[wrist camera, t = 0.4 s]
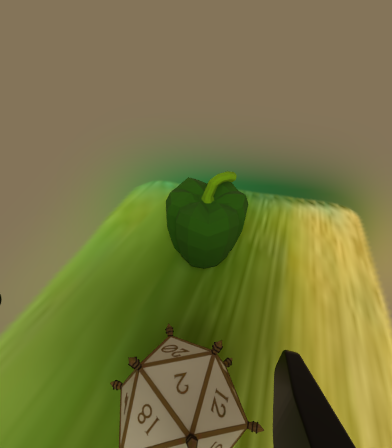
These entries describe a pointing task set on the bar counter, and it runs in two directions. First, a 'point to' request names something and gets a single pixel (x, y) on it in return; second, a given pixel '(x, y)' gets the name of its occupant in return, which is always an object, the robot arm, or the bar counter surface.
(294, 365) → the robot arm
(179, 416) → the game die
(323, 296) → the bar counter surface
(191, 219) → the bell pepper
